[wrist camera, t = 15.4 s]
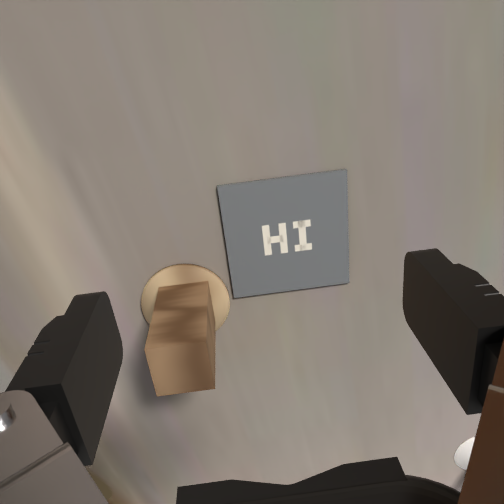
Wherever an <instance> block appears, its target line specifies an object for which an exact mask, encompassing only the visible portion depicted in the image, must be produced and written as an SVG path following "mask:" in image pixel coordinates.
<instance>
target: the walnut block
mask: <svg viewBox="0 0 504 504" xmlns="http://www.w3.org/2000/svg"><path fill="white" fill-rule="evenodd" d="M144 350H145V354H146V358H147V361H148V365H149V369H150V373H151V377H152V380H153V384H154V388H155V392H156V395H157V396H164V395H172V394H179V393H187V392H194V391H202V390H209V389H215V316H214V311H213V305H212V299H211V293H210V288H209V282H208V281H202V282H195V283H187V284H179V285H171V286H164V287H159V288H158V292H157V297H156V301H155V305H154V310H153V314H152V319H151V323H150V327H149V332H148V336H147V340H146V345H145V349H144Z"/></svg>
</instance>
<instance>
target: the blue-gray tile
mask: <svg viewBox="0 0 504 504" xmlns="http://www.w3.org/2000/svg"><path fill="white" fill-rule="evenodd" d="M217 189H218V195H219V202H220V208H221V215H222V221H223V228H224V235H225V241H226V248H227V254H228V261H229V268H230V274H231V281H232V287H233V294H234V298H238V297H246V296H254V295H261V294H269V293H276V292H284V291H291V290H299V289H306V288H314V287H321V286H329V285H337V284H344V283H349V242H348V192H347V169H341V170H333V171H326V172H318V173H310V174H302V175H295V176H287V177H279V178H272V179H264V180H256V181H248V182H241V183H233V184H225V185H217Z"/></svg>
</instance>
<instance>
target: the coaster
mask: <svg viewBox="0 0 504 504" xmlns="http://www.w3.org/2000/svg"><path fill="white" fill-rule="evenodd" d="M202 281H208V282H209V288H210V293H211V299H212V305H213V311H214V316H215V331H217V330H218V329H219V328H220V327H221V326H222V324H223V323H224V322H225V320H226V318H227V316H228V313H229V307H230V300H229V294H228V290H227V288H226V286H225V284H224V283H223V281H222V280H221V279H220V278H219V277H218V276H217V275H216V274H215V273H213V272H212V271H210V270H208V269H206V268H204V267H201V266H198V265H193V264H177V265H172V266H169V267H166V268H164V269H162V270H160V271H158V272H157V273H156V274H154V275H153V276H152V277H151V278H150V279H149V281H148V282H147V284H146V286H145V288H144V291H143V294H142V299H141V307H142V312H143V315H144V317H145V319H146V321H147V322H148V323H149V325H150V323H151V319H152V314H153V310H154V305H155V301H156V297H157V292H158V288H159V287H164V286H171V285H179V284H187V283H195V282H202Z"/></svg>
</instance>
